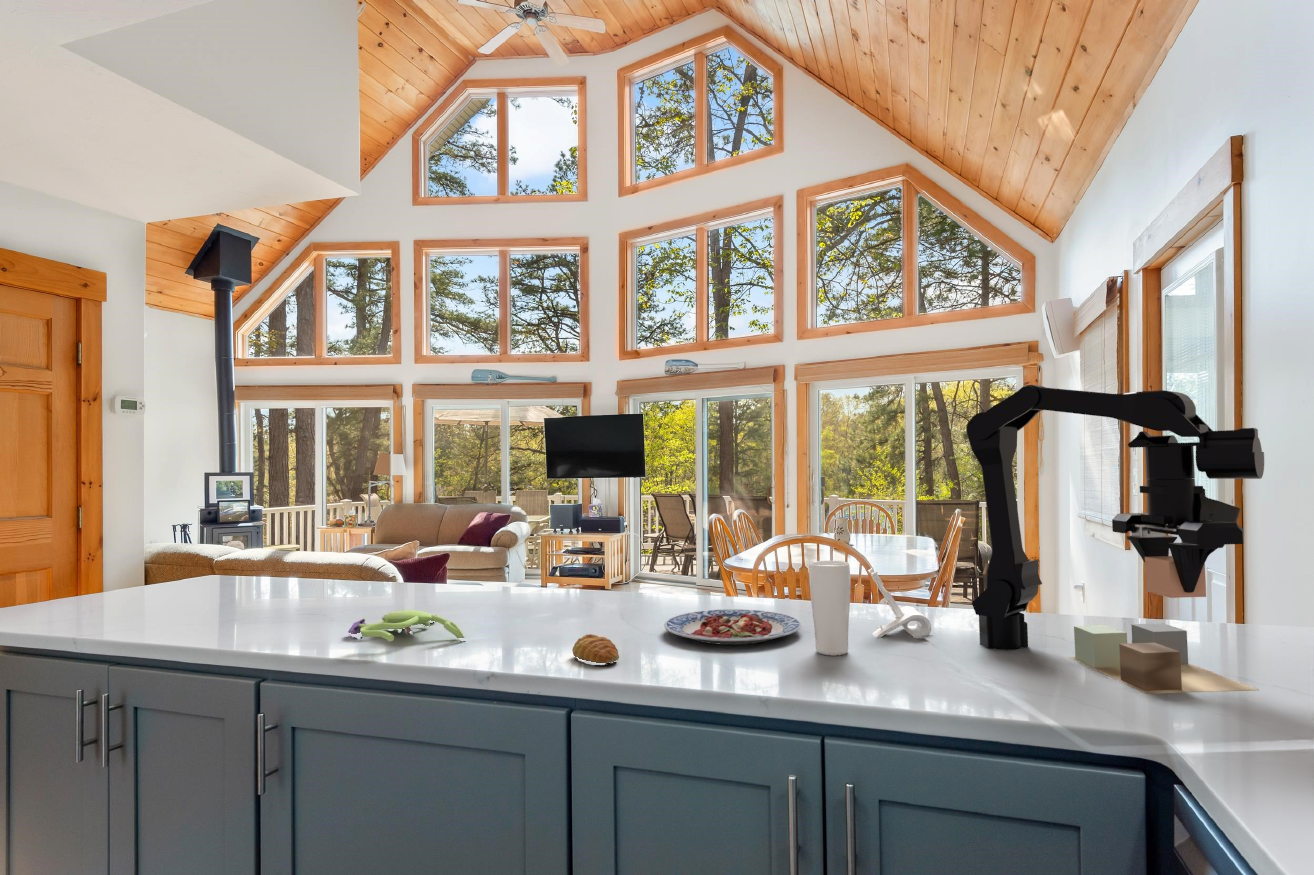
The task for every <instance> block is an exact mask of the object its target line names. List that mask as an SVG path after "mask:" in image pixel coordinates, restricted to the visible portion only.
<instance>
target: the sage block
mask: <svg viewBox="0 0 1314 875" xmlns="http://www.w3.org/2000/svg"><path fill="white" fill-rule="evenodd" d="M1073 636H1074V657H1075V659H1077V660H1079V661H1081V662H1084V663H1086V664H1088V665H1090V666H1092V667H1094V668H1102V667H1120V650H1119V644H1125V643H1128V633H1127V631H1123V630H1120V629H1118V628H1115V627H1112V626H1110V625H1106V624H1103V625H1102V624H1099V625H1097V624H1096V625H1074V626H1073Z"/></svg>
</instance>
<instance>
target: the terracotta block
mask: <svg viewBox="0 0 1314 875" xmlns="http://www.w3.org/2000/svg"><path fill="white" fill-rule="evenodd" d="M1144 569H1145V591H1146V592H1148V593H1151V594H1154V595H1158V596H1162V597H1166V598H1171V599H1175V598H1177V599H1178V598H1183V599H1184V598H1206V597H1207V584H1206V582H1207V581H1206V564H1204V566H1203V568H1202V571H1201V574H1200V576H1199V579H1198V582H1197V585H1196V587H1195V590H1194V592H1192V593H1186V592H1184V590H1183V587H1182V585H1181V582H1180V579H1179V576H1178V573H1177V570H1176V567H1175V563H1174V560H1173V557H1172V555H1169V556H1156V557H1145V562H1144Z"/></svg>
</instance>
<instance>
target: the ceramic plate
mask: <svg viewBox="0 0 1314 875" xmlns="http://www.w3.org/2000/svg"><path fill="white" fill-rule="evenodd" d="M663 626H664V629H665V630H666V631H668V632H670V634H673V635H676V636H679V637H683V638H688V639H692V640H694V639H695V640H694V641H697V640H698V641H697V642H701V641H703V642H702V643H706V642H710V643H709V644H713V643H720V644H719V645H727V644H734V645H748V644H747V643H752V644H759V643H763V642H766V641H767V642H768V641H770V640H773V639H777V638H782V637H784V636H788V635H791V634H793V633H795V632H797V631H799V630H800V629H801V627H802V623H801V621H800V620H799V619H797V618H795V617H793V616H791V615H788V614H783V613H780V612H775V611H767V610H759V609H757V610H756V609H741V608H739V609H737V608H735V609H734V608H729V609H728V608H727V609H726V608H724V609H707V610H699V611H692V612H687V613H682V614H677V615H676V616H672V617H671V618H668V619H667V620H666V621H665V622H664V624H663ZM758 642H759V643H758Z"/></svg>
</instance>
